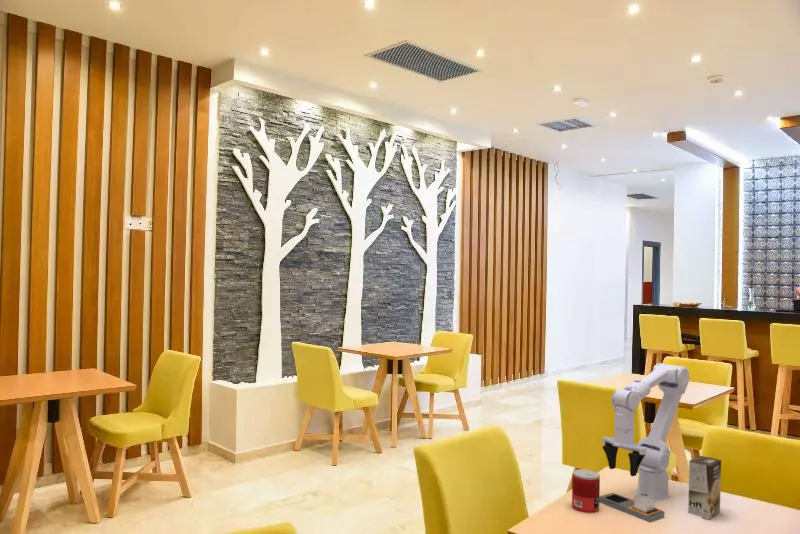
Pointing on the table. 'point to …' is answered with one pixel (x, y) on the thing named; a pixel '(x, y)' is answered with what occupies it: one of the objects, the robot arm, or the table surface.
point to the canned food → (585, 490)
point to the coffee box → (704, 487)
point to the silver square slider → (644, 502)
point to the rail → (629, 507)
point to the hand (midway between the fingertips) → (622, 472)
